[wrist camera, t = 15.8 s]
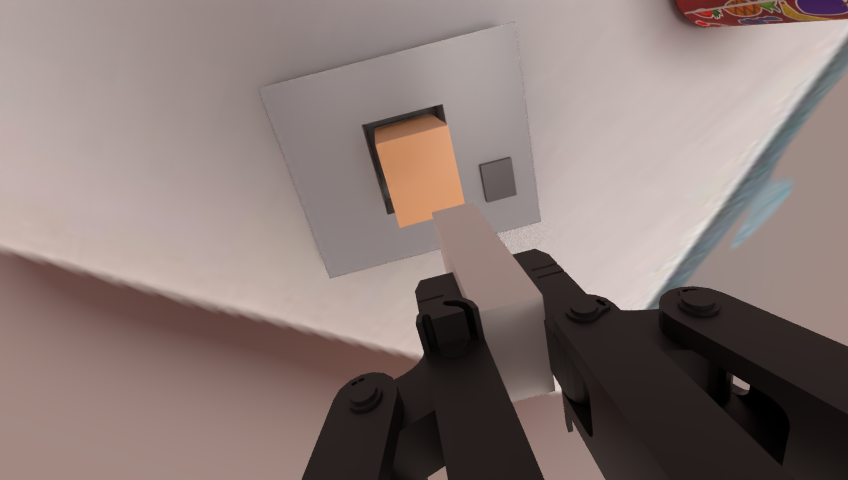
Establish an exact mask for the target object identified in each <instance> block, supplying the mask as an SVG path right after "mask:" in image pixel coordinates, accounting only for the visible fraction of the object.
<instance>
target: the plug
mask: <svg viewBox="0 0 848 480" xmlns="http://www.w3.org/2000/svg"><path fill="white" fill-rule="evenodd" d="M375 145H376V149H377V152H378V155H379V159H380V162H381V166H382V169H383V173H384V176H385V179H386V183H387V186H388V190H389V193H390V197H391V200H392V203H393V207H394V210H395V214H396V217H397V221H398V224H399V227H400V228H401V227H405V226H409V225H412V224H416V223H420V222H423V221H427V220H430V219H433V216H432V212H435V211H439V210H443V209H446V208H450V207H454V206H458V205H462V204H465V202H464V197H463V192H462V188H461V183H460V178H459V174H458V169H457V164H456V160H455V155H454V151H453V146H452V141H451V137H450V132H449V127H448V125H447V124H446V123H444V122H443V121H441V120H439V119H438V118H436V117H435V116H433V115H432V114H430V113H427V114H423V115H419V116H416V117H412V118H408V119H405V120H401V121H397V122H394V123H390V124H386V125H383V126H379V127H375Z"/></svg>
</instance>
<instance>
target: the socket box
mask: <svg viewBox="0 0 848 480" xmlns="http://www.w3.org/2000/svg"><path fill="white" fill-rule="evenodd" d="M258 91H259V93H260V96H261V99H262V101H263V104H264V106H265V109H266V112H267V114H268V117H269V120H270V122H271V125H272V128H273V130H274V133H275V135H276V138H277V141H278V143H279V146H280V149H281V151H282V154H283V157H284V159H285V162H286V164H287V167H288V170H289V172H290V175H291V178H292V180H293V183H294V186H295V188H296V191H297V193H298V196H299V199H300V201H301V204H302V207H303V209H304V212H305V215H306V217H307V220H308V222H309V225H310V228H311V230H312V233H313V236H314V238H315V241H316V244H317V246H318V249H319V251H320V254H321V257H322V259H323V262H324V265H325V267H326V270H327V273H328V275H329V278H334V277H338V276H341V275H345V274H349V273H352V272H356V271H360V270H363V269H367V268H371V267H375V266H378V265H382V264H386V263H389V262H393V261H397V260H401V259H404V258H408V257H412V256H415V255H419V254H423V253H427V252H430V251H434V250H438V249H441V248H440V244H439V240H438V236H437V232H436V228H435V224H434V220H433V219H430V220H427V221H423V222H420V223H416V224H412V225H409V226H405V227H401V228H400V227H399V224H398V221H397V217H396V214H395V210H394V207H393V203H392V200H391V199H390V200H386V199H385V195H384V192H383V188H382V185H381V181H380V178H379V174H378V171H377V167H376V164H375V161H374V157H373V154H372V150H371V147H370V143H369V140H368V136H367V133H366V129H365V126H364V124H368V123H372V122H375V121H379V120H383V119H387V118H391V117H394V116H398V115H402V114H406V113H410V112H414V111H417V110H421V109H425V108H429V107H433V106H436V110H437V114H438V119H439V120H441V121H443V122H444V123H446V124H447V125H448V127H449V132H450V137H451V141H452V146H453V151H454V155H455V160H456V164H457V169H458V174H459V178H460V183H461V188H462V192H463V197H464V202H465V203H469V202H473V204H474V205H475V206H476V208H477V209H478V210H479V212H480V213H481V214H482V216H483V217H484V218H485V220H486V221H487V222H488V224H489V225H490V226H491V228H492V229H493V230H494V232H495V233H496V234H497V233H501V232H504V231H508V230H512V229H516V228H519V227H523V226H527V225H530V224H534V223H538V222H541V218H540V210H539V203H538V195H537V187H536V179H535V172H534V164H533V156H532V148H531V141H530V133H529V125H528V117H527V110H526V102H525V94H524V86H523V79H522V71H521V63H520V56H519V48H518V40H517V32H516V25H515V22H511V23H507V24H503V25H499V26H496V27H492V28H488V29H484V30H480V31H476V32H472V33H468V34H465V35H461V36H457V37H453V38H449V39H445V40H441V41H438V42H434V43H430V44H426V45H422V46H418V47H414V48H411V49H407V50H403V51H399V52H395V53H391V54H387V55H384V56H380V57H376V58H372V59H368V60H364V61H360V62H357V63H353V64H349V65H345V66H341V67H337V68H333V69H330V70H326V71H322V72H318V73H314V74H310V75H306V76H302V77H299V78H295V79H291V80H287V81H283V82H279V83H275V84H272V85H268V86H264V87H260V88H258Z"/></svg>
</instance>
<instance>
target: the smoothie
mask: <svg viewBox="0 0 848 480" xmlns="http://www.w3.org/2000/svg"><path fill="white" fill-rule="evenodd" d="M675 1H676V4H677V6H678V9H679V11H680V12H681V13H682V14H683V15H684V16H685V17H686V18H688V19H690V20H691V21H692V22H693V23H695V24H697V25H699V26H702V27H704V28H706V27H726V26H743V25H759V24H776V23H792V22H809V21H825V20H842V19H848V0H675Z"/></svg>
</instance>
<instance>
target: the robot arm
mask: <svg viewBox="0 0 848 480" xmlns="http://www.w3.org/2000/svg"><path fill="white" fill-rule="evenodd" d="M432 216H433V220H434V224H435V228H436V232H437V236H438V240H439V244H440V248H441V253H442V257H443V261H444V265H445V269H446V273H447V274H443V275H440V276H436V277H432V278H428V279H425V280H421V281H420V282H419V284H418V286H417V288H416V291H415V293H416V299H417V303H418V309H419V314H418V315H417V318H416V327H417V330H418V333H419V337H420V340H421V343H422V347H423V350H424V355H423V357H422V359H421V360H420V362H419V363H418V364H417V365H416V366H415V367H414V368H413V369H411V370H410V371H408V372H407V373H405V374H404V375H402V376H400V377H398V378H396V379H395V380H393V378H392V377H391V376H388V375H386V374H384V373H375V372H372V373H368V374H363V375H360V376H359V377H356V378H354V379H353V380H351V381H349V382H348V383H347V384H346V385H344V386H343V387H342V388H341V389H340V390H339V392H338V393H337V395H336V397H335V398H334V400H333V403H332V405H331V407H330V410H329V413H328V415H327V417H326V420H325V422H324V425H323V427H322V430H321V432H320V435H319V437H318V440H317V442H316V445H315V447H314V450H313V452H312V455H311V457H310V460H309V463H308V465H307V467H306V470H305V472H304V475H303V477H302V480H428V477H429V476H430V475H432V474H433V473H435V472H437V471H438V470H439V469H441V468H443V467H444V466H446V471H447V476H448V480H544V478H543V475H542V473H541V471H540V468H539V466H538V464H537V461H536V459H535V456H534V454H533V452H532V449H531V447H530V444H529V442H528V440H527V437H526V435H525V433H524V430H523V428H522V425H521V423H520V421H519V418H518V417H517V414H516V412H515V409H514V407H513V404H512V402H516V401H519V400H523V399H527V398H531V397H534V396H538V395H542V394H545V393H549V392H553V391H555V385H554V378H553V375H554V376H555V378H556V380H557V381H558V383H559V385H560V386H561V389H562V397H563V404H564V412H565V420H566V426H567V429H568V432H572V431H573V426H572V421H573V423H574V425H575V426H576V428H577V430H578V432H579V433H580V435H581V437H582V438H583V441H584V442H585V444H586V446H587V448H588V449H589V451H590V453H591V454H592V456H593V458H594V460H595V462H596V463H597V465H598V467H599V469H600V471H601V472H602V474H603V476H604V478H605V479H606V480H848V346H845V345H843V344H841V343H838V342H836V341H834V340H832V339H829V338H826V337H825V336H822V335H820V334H818V333H815V332H813V331H811V330H808V329H806V328H804V327H801V326H799V325H797V324H794V323H792V322H790V321H787V320H785V319H782V318H781V317H778V316H776V315H774V314H771V313H769V312H767V311H764V310H762V309H760V308H757V307H755V306H753V305H750V304H748V303H746V302H743V301H741V300H739V299H736V298H734V297H732V296H729V295H727V294H725V293H722V292H719V291H716V290H713V289H709V288H703V287H693V286H692V287H679V288H676V289H672V290H669V291H667V292H666V293H665V294H663V295H662V296H661V298H660V301H659V309H653V310H620V309H619V308H618V307H617V306H616V305H615V304H614V303H612V302H611V301H609V300H608V299H606V298H604V297H600V296H597V295H590V294H586V293H585V292H584V291H583V290H582V289H581V288H580V287H579V285H578V284H577V283H576V282H575V281H574V280H573V279H572V278H571V277H570V276H569V275H568V274H567V273H566V272H564V270H563V269H562V268H561V267H560V266H559V265H557V262H556V261H555V260H554V259H553V258H552V257H551V256H550V255H549V254H547V253H544V252H542V251H539V250H537V249H532V250H528V251H525V252H521V253H517V254H513V255H512V254H511V253H510V251H509V250H508V249H507V247H506V246H505V245H504V244H503V242H502V241H501V240H500V238H499V237H498V236H497V234H496V233H495V232H494V230H493V229H492V228H491V226H490V225H489V224H488V222H487V221H486V220H485V218H484V217H483V216H482V214H481V213H480V212H479V210H478V209H477V208H476V206H475V205H474V204H473V202H469V203H465V204H462V205H458V206H454V207H450V208H446V209H443V210H439V211H435V212H432ZM733 375H734V376H736V377H737V378H739V379H741V380H742V381H744V382H746V383H748V384H749V385H750V389H749V390H744V389H742V388H740V387H738V386H736V385H735V384H733Z"/></svg>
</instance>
